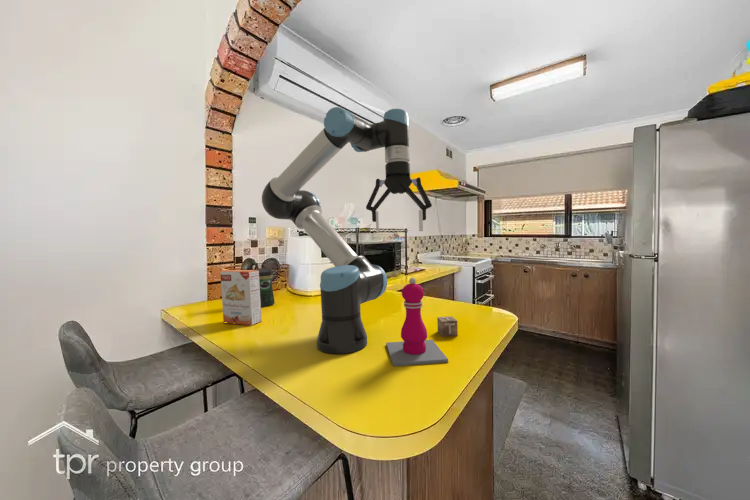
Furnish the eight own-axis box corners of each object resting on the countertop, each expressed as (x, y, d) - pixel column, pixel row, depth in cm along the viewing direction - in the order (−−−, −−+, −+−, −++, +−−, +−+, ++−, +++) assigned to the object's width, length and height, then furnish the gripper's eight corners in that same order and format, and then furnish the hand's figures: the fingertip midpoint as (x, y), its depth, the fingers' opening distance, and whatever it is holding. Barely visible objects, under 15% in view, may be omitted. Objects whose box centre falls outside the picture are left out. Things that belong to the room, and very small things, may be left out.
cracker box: (222, 324, 113) (219, 271, 112) (234, 319, 118) (231, 269, 118) (251, 326, 108) (248, 271, 107) (262, 321, 114) (259, 269, 113)
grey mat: (393, 366, 71) (393, 363, 71) (386, 345, 85) (386, 342, 85) (448, 362, 73) (448, 359, 73) (432, 342, 86) (432, 339, 86)
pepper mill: (427, 356, 75) (425, 279, 74) (399, 354, 76) (397, 279, 75) (428, 345, 82) (426, 275, 81) (402, 344, 83) (400, 276, 82)
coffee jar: (271, 302, 148) (269, 266, 147) (276, 305, 142) (274, 268, 141) (251, 305, 143) (249, 268, 142) (255, 308, 136) (253, 269, 135)
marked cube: (442, 337, 91) (442, 321, 91) (437, 331, 96) (437, 316, 96) (457, 336, 91) (457, 320, 91) (452, 331, 96) (451, 315, 96)
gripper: (356, 161, 85) (358, 232, 86) (440, 158, 85) (441, 230, 86) (357, 167, 92) (360, 233, 93) (435, 164, 92) (436, 230, 93)
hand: (399, 231), depth 90 cm, fingers open, 13 cm apart
